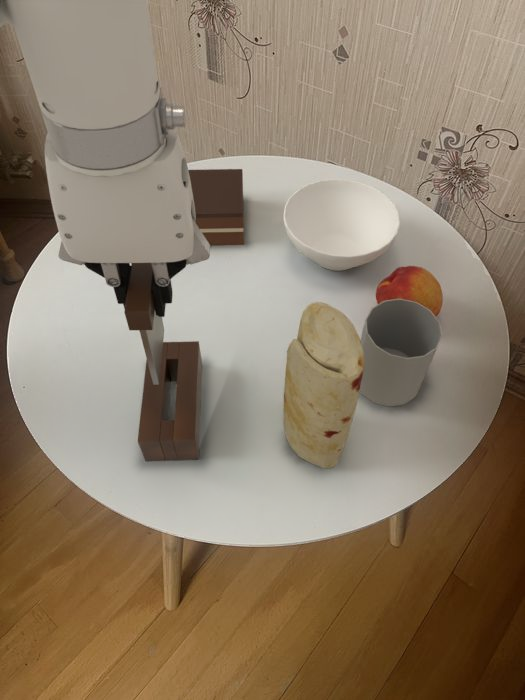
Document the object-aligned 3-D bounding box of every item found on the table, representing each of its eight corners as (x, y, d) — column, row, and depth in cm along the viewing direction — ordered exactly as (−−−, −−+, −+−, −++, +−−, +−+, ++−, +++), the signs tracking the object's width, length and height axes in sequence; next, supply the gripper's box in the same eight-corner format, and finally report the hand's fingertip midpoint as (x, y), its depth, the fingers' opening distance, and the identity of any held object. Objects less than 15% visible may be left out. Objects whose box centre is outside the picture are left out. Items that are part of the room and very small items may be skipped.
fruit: (399, 283, 80) (412, 241, 73) (446, 316, 76) (464, 275, 70) (362, 312, 76) (372, 271, 70) (409, 348, 73) (424, 308, 66)
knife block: (145, 461, 64) (137, 441, 59) (154, 365, 71) (148, 342, 67) (198, 460, 64) (194, 439, 60) (202, 364, 71) (198, 341, 67)
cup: (424, 358, 72) (445, 308, 64) (417, 413, 67) (438, 366, 59) (359, 344, 73) (371, 292, 65) (347, 396, 69) (359, 348, 61)
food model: (355, 465, 63) (389, 364, 47) (300, 483, 62) (315, 386, 46) (322, 395, 69) (342, 282, 53) (270, 410, 67) (274, 300, 51)
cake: (183, 245, 84) (178, 214, 79) (186, 201, 90) (182, 169, 85) (244, 244, 84) (243, 213, 79) (243, 200, 90) (242, 168, 85)
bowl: (259, 254, 83) (259, 217, 77) (326, 202, 90) (331, 164, 84) (346, 311, 77) (353, 275, 71) (411, 250, 84) (423, 212, 78)
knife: (145, 389, 56) (124, 312, 47) (152, 326, 61) (134, 244, 51) (166, 388, 56) (148, 311, 47) (171, 326, 61) (156, 244, 51)
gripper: (228, 92, 40) (233, 274, 55) (-3, 92, 39) (67, 276, 54) (227, 158, 35) (233, 336, 50) (-33, 158, 35) (52, 338, 50)
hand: (147, 304), depth 52 cm, fingers closed on knife, 2 cm apart
